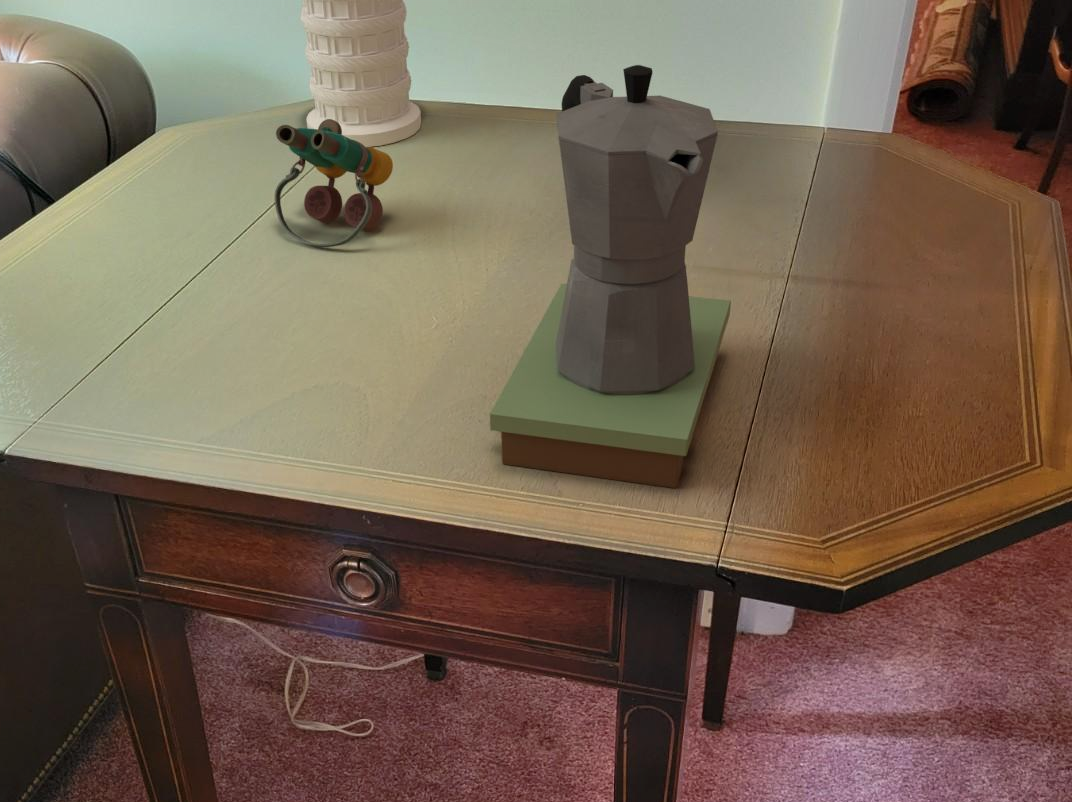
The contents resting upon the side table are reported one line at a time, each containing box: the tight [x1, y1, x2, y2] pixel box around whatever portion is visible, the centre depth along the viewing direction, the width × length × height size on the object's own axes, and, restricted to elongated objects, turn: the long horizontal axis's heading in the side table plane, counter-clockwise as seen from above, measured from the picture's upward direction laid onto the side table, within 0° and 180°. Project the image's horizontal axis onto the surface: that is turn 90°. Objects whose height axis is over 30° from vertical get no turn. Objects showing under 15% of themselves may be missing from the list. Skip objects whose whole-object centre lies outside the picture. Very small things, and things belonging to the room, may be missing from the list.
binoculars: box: [273, 119, 394, 248], centre depth 101 cm, size 9×9×10 cm
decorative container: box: [300, 0, 422, 148], centre depth 118 cm, size 12×12×18 cm
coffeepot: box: [555, 64, 719, 395], centre depth 73 cm, size 15×9×18 cm, turn 21°
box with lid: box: [489, 283, 732, 489], centre depth 80 cm, size 12×18×4 cm, turn 163°
